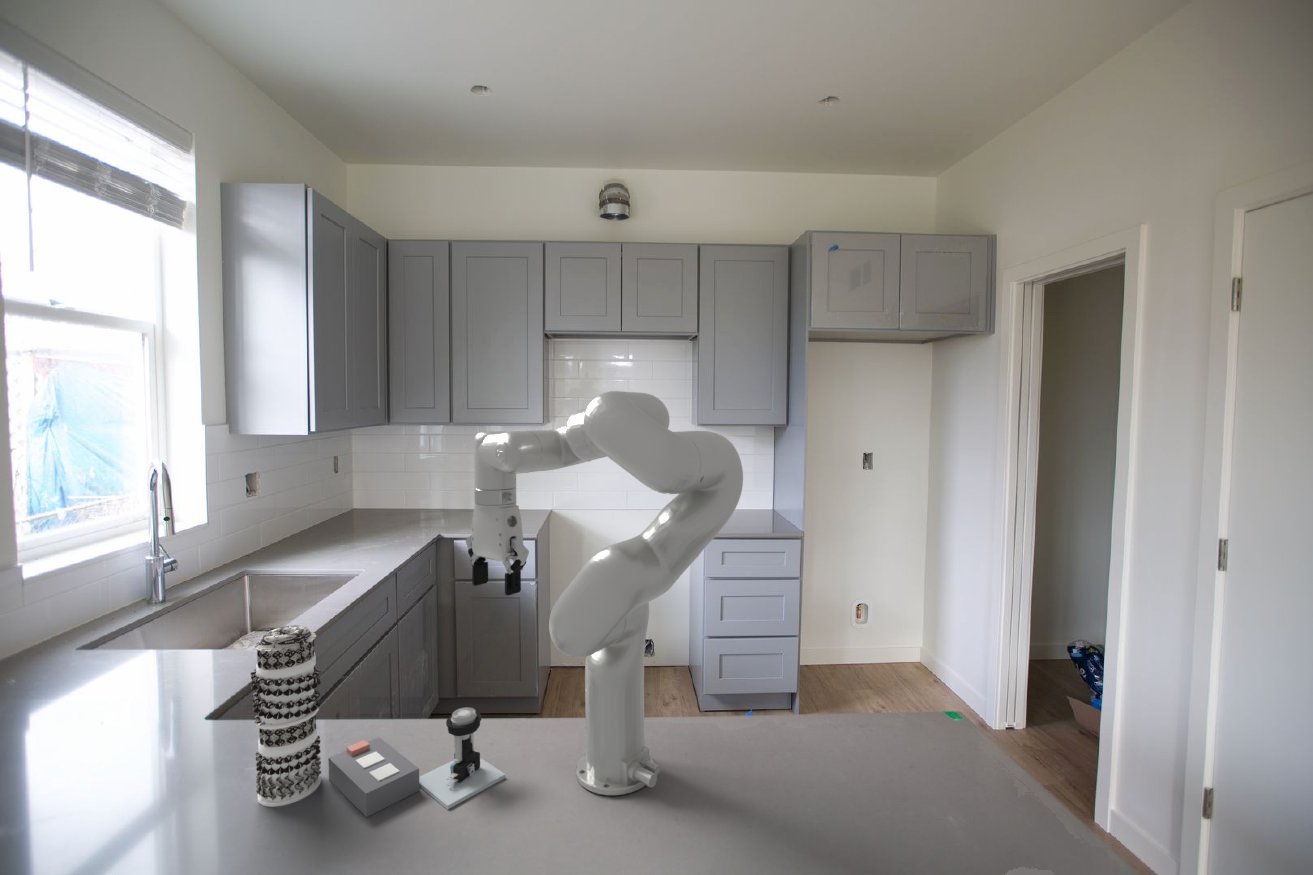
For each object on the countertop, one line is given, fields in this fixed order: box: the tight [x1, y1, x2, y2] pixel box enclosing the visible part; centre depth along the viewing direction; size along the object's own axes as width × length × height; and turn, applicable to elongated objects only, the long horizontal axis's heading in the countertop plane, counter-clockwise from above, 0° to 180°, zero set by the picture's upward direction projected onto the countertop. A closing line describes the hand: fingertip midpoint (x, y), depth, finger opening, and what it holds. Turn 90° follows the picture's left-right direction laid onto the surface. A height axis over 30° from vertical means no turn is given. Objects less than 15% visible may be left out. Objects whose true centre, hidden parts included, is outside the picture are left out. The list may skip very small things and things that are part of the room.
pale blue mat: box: [419, 757, 506, 810], centre depth 93 cm, size 10×10×1 cm
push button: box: [445, 707, 482, 786], centre depth 93 cm, size 7×5×10 cm
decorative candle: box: [250, 624, 322, 808], centre depth 91 cm, size 9×9×25 cm
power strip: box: [327, 736, 420, 818], centre depth 92 cm, size 14×8×4 cm, turn 49°
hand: (496, 588), depth 109 cm, fingers open, 9 cm apart
